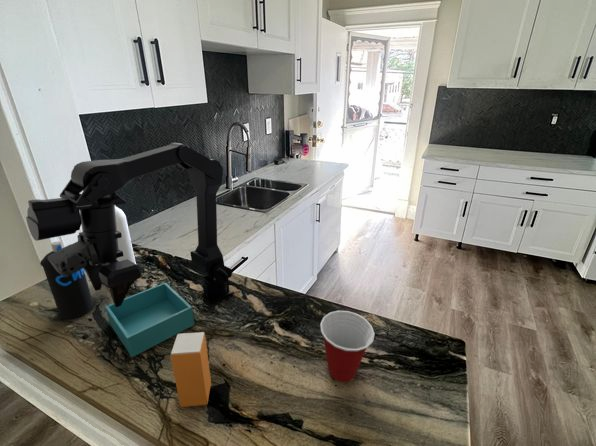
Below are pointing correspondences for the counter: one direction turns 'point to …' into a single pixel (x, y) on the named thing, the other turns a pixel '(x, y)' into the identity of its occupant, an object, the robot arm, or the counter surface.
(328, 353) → the plastic cup
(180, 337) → the drink carton
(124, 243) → the bottle
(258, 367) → the counter surface
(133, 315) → the bin
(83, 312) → the aerosol can
